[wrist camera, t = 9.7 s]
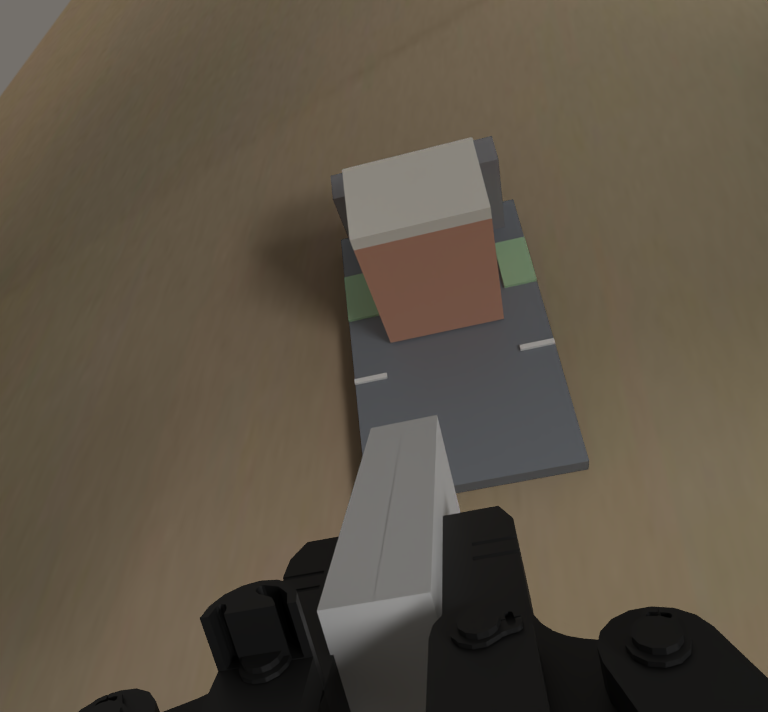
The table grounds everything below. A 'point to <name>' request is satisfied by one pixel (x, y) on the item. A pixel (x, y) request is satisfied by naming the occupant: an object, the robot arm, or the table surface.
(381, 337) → the base
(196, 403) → the table surface
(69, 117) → the table surface
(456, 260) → the orange box with lid
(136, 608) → the table surface
